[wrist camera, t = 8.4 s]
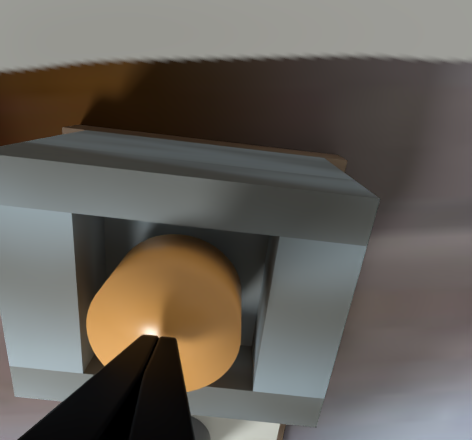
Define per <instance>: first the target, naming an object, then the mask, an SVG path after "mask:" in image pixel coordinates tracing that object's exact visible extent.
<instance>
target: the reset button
mask: <svg viewBox="0 0 472 440" xmlns="http://www.w3.org/2000/svg"><path fill="white" fill-rule="evenodd" d="M241 302H242V291H241V283H240V279H239V276H238V273H237V271H236V269H235V267H234V266H233V264H232V263H231V261H230V260H229V259H228V258H227V257H226V256H225V255H224V254H223V253H222V252H221V251H220V250H219V249H217V248H216V247H215V246H213V245H211V244H210V243H208V242H206V241H204V240H201V239H199V238H196V237H192V236H188V235H182V234H167V235H160V236H155V237H152V238H149V239H147V240H145V241H143V242H141V243H139V244H138V245H136V246H135V247H133V248H132V249H131V250H130V251H129V252H128V253H127V254H126V256H125V257H124V258H123V259H122V261H121V262H120V263H119V265H118V266H117V267H116V269H115V270H114V271H113V273H112V274H111V275H110V277H109V278H108V279H107V281H106V282H105V283H104V284H103V286H102V287H101V288H100V290H99V291H98V292H97V294H96V295H95V297H94V298H93V300H92V302H91V304H90V307H89V309H88V314H87V319H86V328H87V335H88V339H89V342H90V345H91V347H92V349H93V351H94V353H95V354H96V356H97V357H98V359H99V360H100V361H101V363H102V364H103V365H104V366H105V365H106V364H108V363H109V362H110V361H111V360H112V359H114V358H115V357H116V356H117V355H118V354H119V353H121V352H122V351H123V350H124V349H125V348H127V347H128V346H129V345H130V344H131V343H132V342H134V341H135V340H136V339H137V338H138V337H140V336H141V335H143V334H147V335H156V336H158V337H159V338H160V337H161V336H166V337H174V338H176V339H177V344H178V349H179V354H180V359H181V365H182V370H183V375H184V381H185V386H186V391H187V392H190V391H194V390H197V389H200V388H203V387H205V386H207V385H209V384H211V383H213V382H215V381H216V380H218V379H219V378H220V377H222V376H223V375H224V374H225V373H226V372H227V371H228V370H229V368H230V367H231V366H232V364H233V363H234V361H235V359H236V357H237V355H238V352H239V348H240V344H241Z"/></svg>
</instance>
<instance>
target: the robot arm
mask: <svg viewBox="0 0 472 440" xmlns="http://www.w3.org/2000/svg"><path fill="white" fill-rule="evenodd" d="M18 440H196V439H195V434H194V428H193V423H192V418H191V412H190V407H189V402H188V397H187V391H186V386H185V381H184V375H183V370H182V365H181V359H180V354H179V349H178V344H177V339H176V338H174V337H166V336H161V337H160V338H159V337H158V336H156V335H147V334H143V335H141V336H140V337H138V338H137V339H136V340H135V341H134V342H132V343H131V344H130V345H129V346H128V347H127V348H125V349H124V350H123V351H122V352H121V353H119V354H118V355H117V356H116V357H115V358H114V359H112V360H111V361H110V362H109V363H108V364H106V365H105V366H104V367H103V368H102V369H101V370H99V371H98V372H97V373H96V374H95V375H93V376H92V377H91V378H90V379H89V380H87V381H86V382H85V383H84V384H83V385H82V386H80V387H79V388H78V389H77V390H76V391H74V392H73V393H72V394H71V395H70V396H69V397H67V398H66V399H65V400H64V401H63V402H61V403H60V404H59V405H58V406H57V407H56V408H54V409H53V410H52V411H51V412H50V413H48V414H47V415H46V416H45V417H44V418H42V419H41V420H40V421H39V422H38V423H37V424H35V425H34V426H33V427H32V428H31V429H29V430H28V431H27V432H26V433H25V434H24V435H22V436H21V437H20V438H19V439H18Z"/></svg>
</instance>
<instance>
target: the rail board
mask: <svg viewBox="0 0 472 440" xmlns="http://www.w3.org/2000/svg"><path fill="white" fill-rule="evenodd" d="M62 132H63V135H58V136H53V137H48V138H42V139H37V140H32V141H27V142H22V143H16V144H11V145H6V146H1V147H0V313H1V319H2V325H3V331H4V336H5V342H6V348H7V354H8V360H9V365H10V371H11V377H12V383H13V388H14V394H15V397H24V398H34V399H43V400H53V401H64V400H65V399H66V398H67V397H69V396H70V395H71V394H72V393H73V392H74V391H76V390H77V389H78V388H79V387H80V386H82V385H83V384H84V383H85V382H86V381H87V380H89V379H90V378H91V377H92V376H93V375H95V374H96V373H97V372H98V371H99V370H101V369H102V368H103V367H104V365H103V364H102V363H101V361H100V360H99V359H98V357H97V356H96V354H95V353H94V351H93V349H92V347H91V345H90V342H89V339H88V335H87V328H86V319H87V314H88V309H89V307H90V304H91V302H92V300H93V298H94V297H95V295H96V294H97V292H98V291H99V290H100V288H101V287H102V286H103V284H104V283H105V282H106V281H107V279H108V278H109V277H110V275H111V274H112V273H113V271H114V270H115V269H116V267H117V266H118V265H119V263H120V262H121V261H122V259H123V258H124V257H125V256H126V254H127V253H128V252H129V251H130V250H131V249H132V248H133V247H135V246H136V245H138V244H139V243H141V242H143V241H145V240H147V239H149V238H152V237H155V236H160V235H167V234H182V235H188V236H192V237H196V238H199V239H201V240H204V241H206V242H208V243H210V244H211V245H213V246H215V247H216V248H217V249H219V250H220V251H221V252H222V253H223V254H224V255H225V256H226V257H227V258H228V259H229V260H230V261H231V263H232V264H233V266H234V267H235V269H236V271H237V273H238V276H239V279H240V283H241V291H242V302H241V344H240V348H239V352H238V355H237V357H236V359H235V361H234V363H233V364H232V366H231V367H230V368H229V370H228V371H227V372H226V373H225V374H224V375H223V376H222V377H220V378H219V379H218V380H216V381H215V382H213V383H211V384H209V385H207V386H205V387H203V388H200V389H197V390H194V391H190V392H187V397H188V402H189V407H190V412H191V415H200V416H209V417H219V418H229V419H239V420H249V421H258V422H268V423H278V424H280V426H279V431H278V435H277V440H282V439H283V435H284V430H285V426H286V424H288V425H297V426H307V427H316V426H317V423H318V419H319V416H320V412H321V409H322V405H323V401H324V398H325V394H326V391H327V387H328V384H329V380H330V377H331V373H332V369H333V366H334V362H335V359H336V355H337V352H338V348H339V345H340V341H341V337H342V334H343V330H344V327H345V323H346V320H347V316H348V312H349V309H350V305H351V302H352V298H353V295H354V291H355V288H356V284H357V280H358V277H359V273H360V270H361V266H362V263H363V259H364V255H365V252H366V248H367V245H368V241H369V238H370V234H371V231H372V227H373V223H374V220H375V216H376V213H377V209H378V206H379V202H380V198H378V197H377V196H376V195H374V194H373V193H372V192H370V191H369V190H367V189H366V188H365V187H363V186H362V185H361V184H359V183H358V182H356V181H355V180H354V179H352V178H351V177H350V176H348V175H347V174H345V169H346V165H347V160H345V159H344V158H342V157H340V156H339V155H334V154H325V153H317V152H308V151H300V150H291V149H283V148H274V147H265V146H257V145H248V144H240V143H231V142H223V141H214V140H206V139H197V138H189V137H180V136H172V135H163V134H155V133H146V132H138V131H129V130H121V129H112V128H104V127H95V126H86V125H74V126H67V127H62Z"/></svg>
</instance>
